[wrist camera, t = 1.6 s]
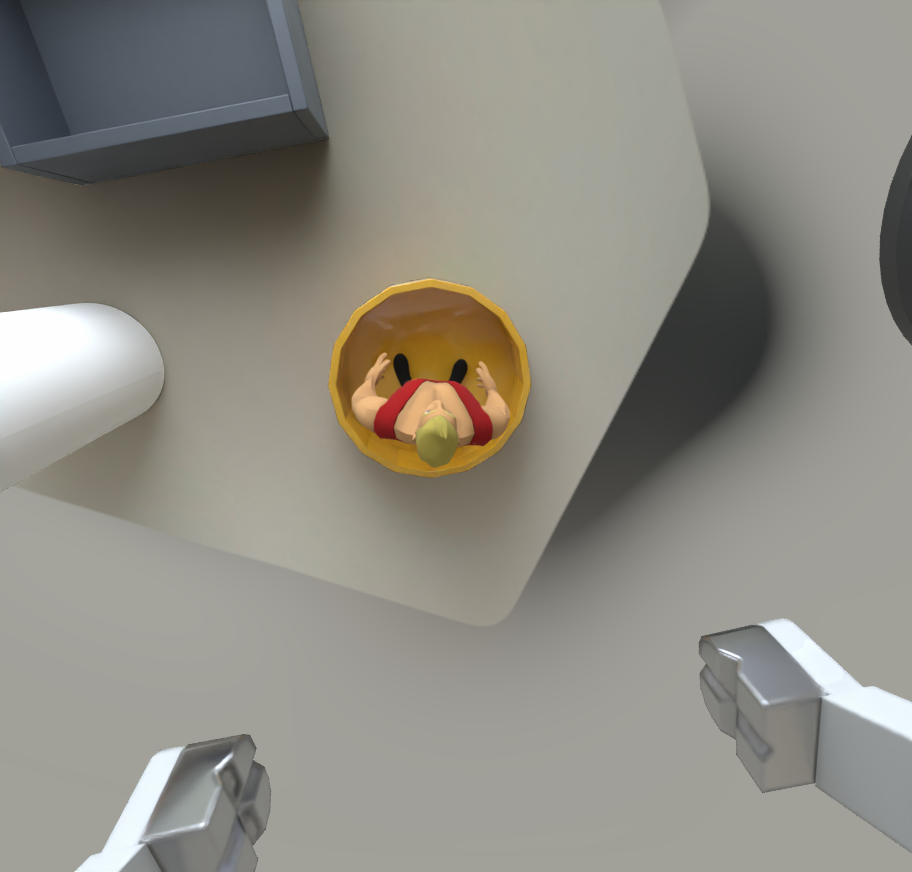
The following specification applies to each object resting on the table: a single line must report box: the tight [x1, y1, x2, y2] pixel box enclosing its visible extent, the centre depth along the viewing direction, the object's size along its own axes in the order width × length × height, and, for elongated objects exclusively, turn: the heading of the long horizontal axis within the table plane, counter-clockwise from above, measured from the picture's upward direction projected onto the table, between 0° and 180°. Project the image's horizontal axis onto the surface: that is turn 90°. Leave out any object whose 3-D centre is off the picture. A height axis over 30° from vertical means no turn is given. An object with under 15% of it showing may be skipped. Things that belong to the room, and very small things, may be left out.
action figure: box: [352, 353, 510, 468], centre depth 29 cm, size 10×4×15 cm, turn 84°
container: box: [0, 0, 329, 186], centre depth 26 cm, size 16×13×6 cm
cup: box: [0, 303, 164, 492], centre depth 27 cm, size 8×8×16 cm
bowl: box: [328, 277, 531, 478], centre depth 35 cm, size 13×13×4 cm
